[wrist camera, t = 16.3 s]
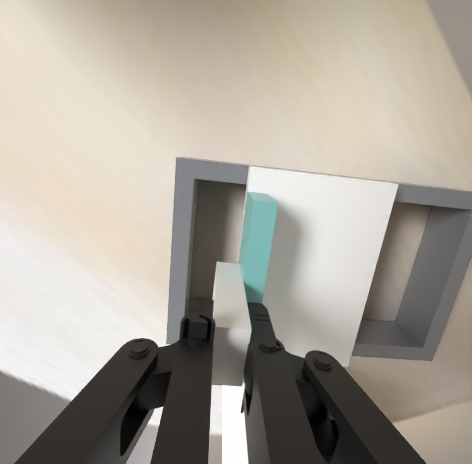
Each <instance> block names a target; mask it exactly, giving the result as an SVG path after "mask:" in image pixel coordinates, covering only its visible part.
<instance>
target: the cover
mask: <svg viewBox="0 0 472 464" xmlns="http://www.w3.org/2000/svg"><path fill="white" fill-rule="evenodd" d="M398 185H399V184H395V183H389V182H380V181H372V180H364V179H355V178H347V177H338V176H330V175H321V174H313V173H304V172H296V171H287V170H279V169H270V168H262V167H253V166H249V170H248V178H247V186H246V194H245V202H244V210H243V218H242V226H241V234H240V242H239V250H238V258H237V264H240V266H241V272H242V278H243V282H244V288H245V294H246V300H247V302H253V303H262V304H263V305H264V306H265V307H266V308H267V309H268V313H269V316H270V319H271V323H272V326H273V329H274V333H275V336H276V339H278V340H279V341H280V342H281V343H282V344H283V345H284V347H285V350H286V351H287V352H289V353H291V354H293V355H296V356H300V357H303V358H305V355H306V354H307V353H308V352H309V351H312V350H318V351H322V352H326V353H328V354H329V355H331V356H333V357H334V358H335V359H336V360H337V361H338V362H339V363H340V364H341V365H342V367H348V365H349V362H350V358H351V355H352V351H353V347H354V344H355V340H356V337H357V333H358V329H359V326H360V322H361V318H362V315H363V311H364V308H365V304H366V300H367V297H368V293H369V290H370V286H371V282H372V279H373V275H374V272H375V268H376V264H377V261H378V257H379V253H380V250H381V246H382V243H383V239H384V235H385V232H386V228H387V225H388V221H389V217H390V214H391V210H392V207H393V203H394V199H395V196H396V192H397V188H398ZM243 383H244V379H243Z"/></svg>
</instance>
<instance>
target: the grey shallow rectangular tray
mask: <svg viewBox="0 0 472 464" xmlns="http://www.w3.org/2000/svg"><path fill="white" fill-rule="evenodd" d="M249 166H253V167H262V168H270V169H279V170H287V171H296V172H304V173H313V174H321V175H330V174H322V173H314V172H305V171H297V170H288V169H280V168H271V167H263V166H254V165H246V164H238V163H229V162H221V161H212V160H204V159H195V158H187V157H176V171H175V190H174V209H173V228H172V247H171V266H170V285H169V304H168V322H167V341H166V344H174V343H175V342H177V341H178V340H179V337H180V325H181V320H182V318H183V317H184V316H186V315H187V311H188V307H189V296H190V283H191V270H192V256H193V243H194V230H195V217H196V204H197V191H198V179H202V180H211V181H220V182H229V183H238V184H246V185H247V178H248V170H249ZM330 176H338V177H347V176H339V175H330ZM347 178H355V179H364V178H356V177H347ZM364 180H372V181H380V182H389V183H395V184H399V185H398V188H397V192H396V196H395V199H394V201H398V202H407V203H415V204H424V205H432V208H431V212H430V215H429V218H428V221H427V224H426V227H425V230H424V234H423V237H422V240H421V243H420V246H419V249H418V252H417V256H416V259H415V262H414V265H413V268H412V271H411V275H410V278H409V281H408V284H407V287H406V290H405V293H404V297H403V300H402V303H401V306H400V309H399V312H398V316H397V319H396V322H392V321H379V320H365V319H361V322H360V326H359V329H358V333H357V337H356V340H355V344H354V347H353V351H352V355H351V356H363V357H378V358H394V359H410V360H426V361H432V360H433V357H434V354H435V352H436V349H437V346H438V344H439V341H440V338H441V336H442V333H443V331H444V328H445V325H446V323H447V320H448V317H449V315H450V312H451V309H452V307H453V304H454V301H455V299H456V296H457V293H458V291H459V288H460V285H461V283H462V280H463V277H464V275H465V272H466V269H467V267H468V264H469V262H470V259H471V256H472V192H471V191H463V190H456V189H449V188H440V187H432V186H423V185H415V184H406V183H398V182H390V181H381V180H373V179H364Z"/></svg>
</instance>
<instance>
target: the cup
mask: <svg viewBox="0 0 472 464" xmlns="http://www.w3.org/2000/svg"><path fill="white" fill-rule="evenodd" d="M244 388H245V384H244V383H243V385H242V386H226V385H222V464H248V452H247V440H246V428H245V416H244V412H243V413H241V406H242V400H243V394H244Z"/></svg>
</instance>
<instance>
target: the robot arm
mask: <svg viewBox="0 0 472 464" xmlns="http://www.w3.org/2000/svg"><path fill="white" fill-rule="evenodd" d="M243 379H244V384H245V388H244V394H243V400H242V406H241V413H243V412H244V416H245V428H246V440H247V452H248V464H426V463H425V461H424V460H423V459H422V458H421V457H420V456H419V454H418V453H417V452H416V451H415V450H414V449H413V448H412V446H411V445H410V444H409V443H408V442H407V441H406V439H405V438H404V437H403V436H402V435H401V434H400V432H399V431H398V430H397V429H396V428H395V427H394V426H393V424H392V423H391V422H390V421H389V420H388V419H387V417H386V416H385V415H384V414H383V413H382V412H381V411H380V409H379V408H378V407H377V406H376V405H375V404H374V402H373V401H372V400H371V399H370V398H369V397H368V395H367V394H366V393H365V392H364V391H363V390H362V389H361V387H360V386H359V385H358V384H357V383H356V382H355V380H354V379H353V378H352V377H351V376H350V375H349V373H348V372H347V371H346V370H345V369H344V368H343V367H342V365H341V364H340V363H339V362H338V361H337V360H336V359H335V358H334V357H333V356H331V355H329V354H328V353H326V352H322V351H318V350H312V351H309V352H308V353H307V354H306V355H305V358H303V357H300V356H296V355H293V354H291V353H289V352H287V351H286V350H285V347H284V345H283V344H282V343H281V342H280V341H279V340H278V339H276V336H275V333H274V329H273V326H272V323H271V319H270V316H269V313H268V309H267V308H266V307H265V306H264V305H263V304H262V303H253V302H247V300H246V294H245V288H244V282H243V278H242V272H241V266H240V264H235V263H225V262H217V264H216V273H215V281H214V290H213V298H212V300H211V299H200V298H194V299H193V300H192V301H191V302H190V303H189V307H188V311H187V315H186V316H184V317H183V318H182V320H181V325H180V337H179V340H178V341H177V342H175V343H174V344H171V345H168V346H164V347H158V345H157V344H156V343H155V342H154V341H152V340H150V339H144V338H140V339H134V340H131V341H129V342H127V343H126V344H124V345H123V346H122V347H121V348H120V349H119V350H118V351H117V352H116V353H115V355H114V356H113V357H112V358H111V359H110V360H109V361H108V362H107V363H106V364H105V365H104V367H103V368H102V369H101V370H100V371H99V372H98V373H97V374H96V375H95V376H94V377H93V379H92V380H91V381H90V382H89V383H88V384H87V385H86V386H85V387H84V388H83V389H82V390H81V392H80V393H79V394H78V395H77V396H76V397H75V398H74V399H73V400H72V401H71V402H70V404H69V405H68V406H67V407H66V408H65V409H64V410H63V411H62V412H61V414H59V416H58V417H57V418H56V419H55V420H54V421H53V422H52V423H51V424H50V425H49V426H48V428H47V429H46V430H45V431H44V432H43V433H42V434H41V435H40V436H39V437H38V438H37V439H36V441H35V442H34V443H33V444H32V445H31V446H30V447H29V448H28V449H27V450H26V452H25V453H24V454H23V455H22V456H21V457H20V458H19V459H18V460H17V461H16V463H14V464H126V462H127V460H128V458H129V456H130V454H131V453H132V451H133V449H134V447H135V445H136V443H137V442H138V440H139V437H140V436H141V434H142V432H143V430H144V429H145V427H146V425H147V423H148V421H149V420H150V418H151V416H152V414H153V412H154V409H155V408H159V407H163V406H164V407H163V412H162V416H161V420H160V425H159V429H158V433H157V438H156V442H155V446H154V450H153V455H152V459H151V463H150V464H208V451H209V450H208V449H209V430H210V407H211V385H226V386H242V385H243Z"/></svg>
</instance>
